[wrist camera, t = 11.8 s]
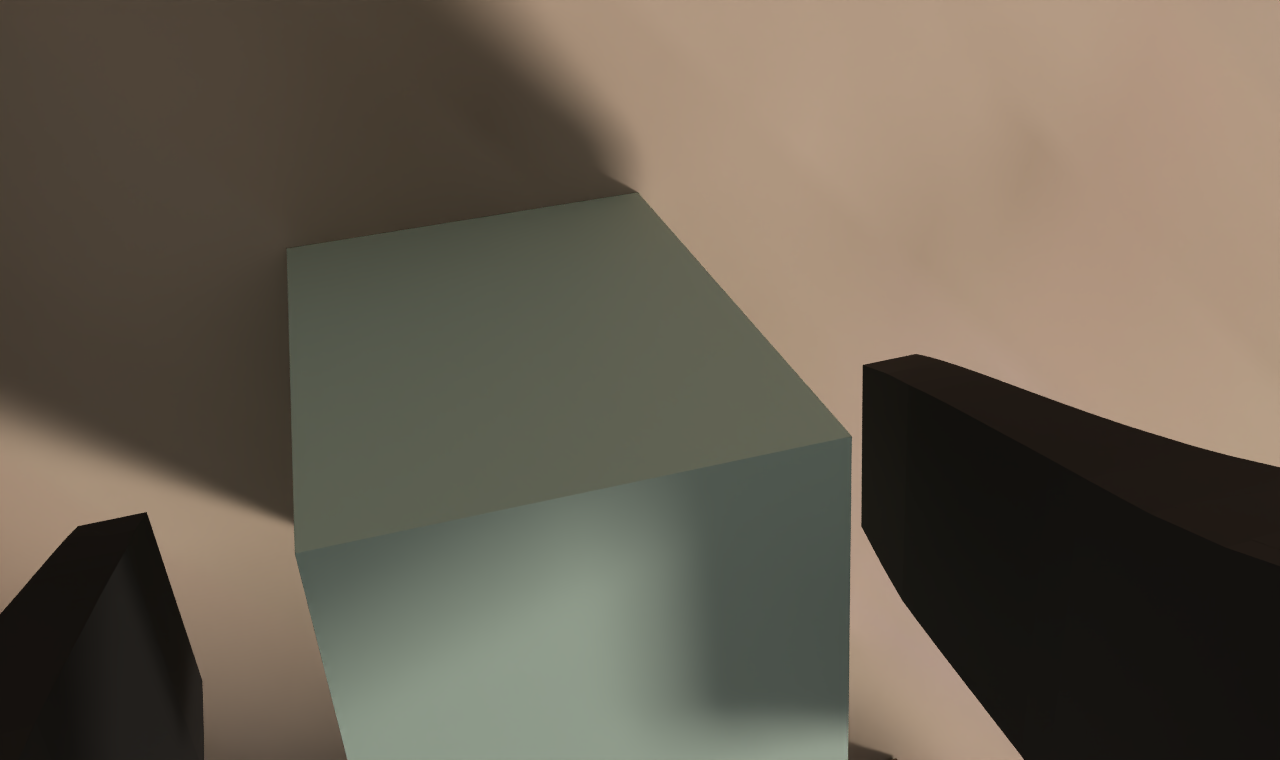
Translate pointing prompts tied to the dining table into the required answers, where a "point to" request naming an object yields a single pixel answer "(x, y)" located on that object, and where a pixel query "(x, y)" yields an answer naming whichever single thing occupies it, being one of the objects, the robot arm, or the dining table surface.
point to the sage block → (562, 499)
